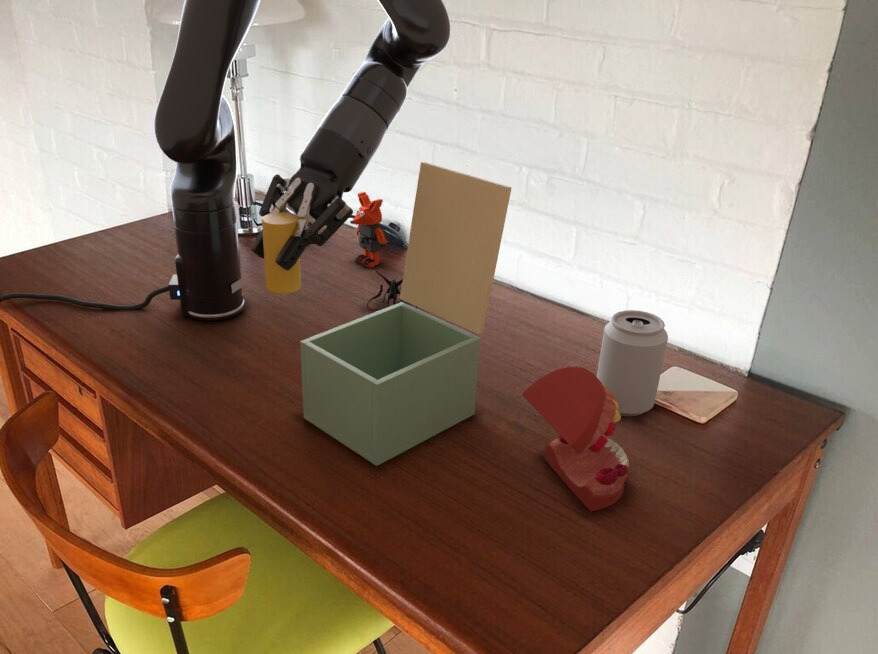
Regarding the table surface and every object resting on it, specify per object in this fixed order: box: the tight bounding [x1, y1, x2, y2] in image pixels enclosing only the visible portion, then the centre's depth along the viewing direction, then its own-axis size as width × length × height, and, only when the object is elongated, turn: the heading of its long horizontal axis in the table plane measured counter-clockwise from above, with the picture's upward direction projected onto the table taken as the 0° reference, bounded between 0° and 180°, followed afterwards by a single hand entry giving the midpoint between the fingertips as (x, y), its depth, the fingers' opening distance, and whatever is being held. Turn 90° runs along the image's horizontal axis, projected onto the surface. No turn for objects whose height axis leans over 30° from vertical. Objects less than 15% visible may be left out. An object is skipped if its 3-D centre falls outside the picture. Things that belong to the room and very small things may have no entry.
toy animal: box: [349, 191, 387, 268], centre depth 144 cm, size 8×5×12 cm
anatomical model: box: [522, 366, 630, 513], centre depth 89 cm, size 10×8×15 cm
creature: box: [366, 270, 418, 312], centre depth 130 cm, size 8×5×8 cm
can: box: [596, 309, 669, 417], centre depth 103 cm, size 8×8×12 cm
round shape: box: [261, 212, 302, 295], centre depth 102 cm, size 4×4×9 cm
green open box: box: [299, 301, 481, 467], centre depth 101 cm, size 17×14×11 cm
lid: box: [399, 161, 512, 335], centre depth 99 cm, size 17×14×1 cm
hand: (269, 260), depth 101 cm, fingers closed on round shape, 4 cm apart
